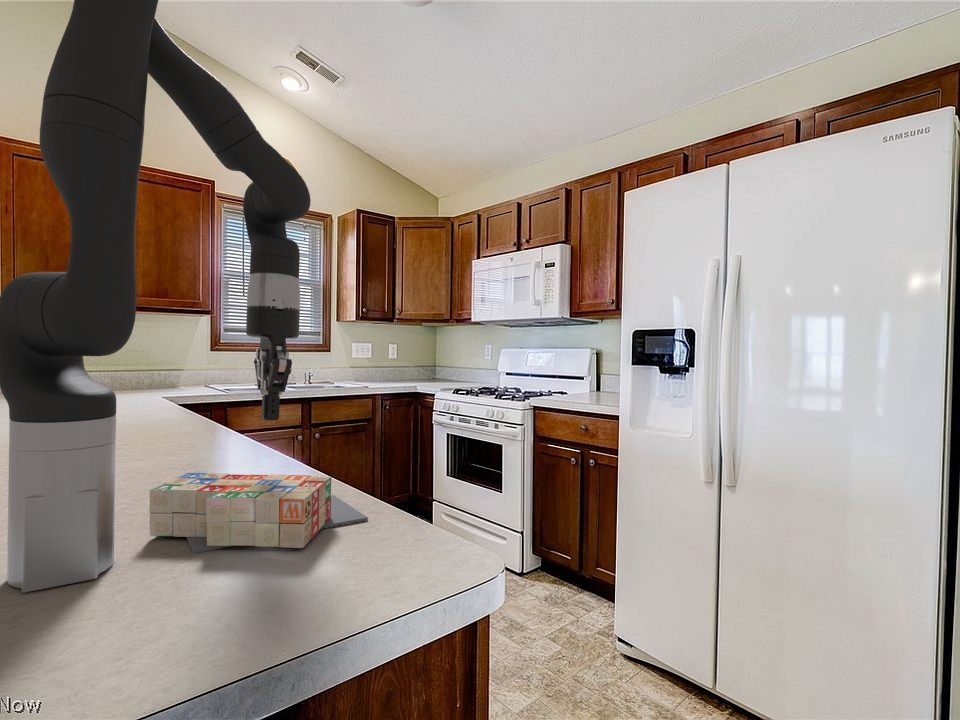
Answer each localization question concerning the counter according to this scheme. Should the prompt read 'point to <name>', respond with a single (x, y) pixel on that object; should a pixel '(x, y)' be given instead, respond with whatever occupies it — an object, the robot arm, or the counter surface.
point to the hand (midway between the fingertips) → (270, 419)
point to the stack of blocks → (242, 508)
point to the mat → (339, 516)
